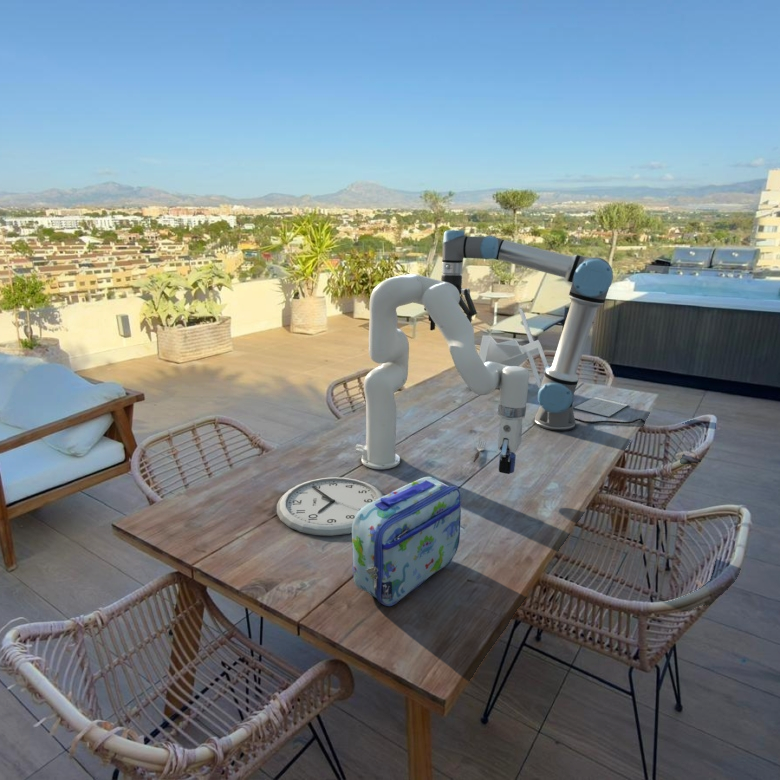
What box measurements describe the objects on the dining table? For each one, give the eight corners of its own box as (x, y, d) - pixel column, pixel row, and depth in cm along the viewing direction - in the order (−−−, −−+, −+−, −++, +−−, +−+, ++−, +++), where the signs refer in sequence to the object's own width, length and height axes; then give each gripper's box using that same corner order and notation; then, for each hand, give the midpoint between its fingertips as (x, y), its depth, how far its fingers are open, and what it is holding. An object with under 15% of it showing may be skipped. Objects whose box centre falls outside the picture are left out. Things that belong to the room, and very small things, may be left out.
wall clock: (392, 527, 129) (268, 531, 127) (391, 533, 130) (269, 537, 127) (383, 473, 158) (282, 475, 155) (383, 478, 158) (282, 480, 156)
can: (497, 472, 151) (499, 456, 150) (499, 465, 155) (500, 450, 154) (513, 474, 150) (515, 458, 149) (514, 467, 154) (516, 452, 153)
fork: (469, 463, 170) (469, 457, 169) (478, 444, 184) (479, 439, 183) (477, 464, 169) (477, 458, 168) (486, 446, 183) (486, 440, 182)
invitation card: (608, 416, 214) (573, 407, 224) (608, 416, 214) (573, 408, 224) (628, 404, 229) (594, 396, 238) (628, 405, 229) (594, 397, 238)
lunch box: (381, 619, 101) (382, 525, 95) (345, 592, 109) (344, 503, 102) (464, 563, 119) (469, 480, 113) (428, 543, 126) (432, 464, 120)
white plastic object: (488, 421, 262) (468, 398, 237) (469, 348, 284) (449, 320, 260) (560, 397, 250) (547, 371, 225) (534, 322, 272) (520, 291, 247)
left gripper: (519, 422, 138) (513, 484, 144) (530, 403, 153) (524, 460, 159) (491, 417, 141) (486, 478, 147) (505, 399, 156) (500, 455, 161)
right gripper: (416, 273, 193) (414, 329, 200) (480, 277, 182) (476, 337, 188) (425, 271, 200) (423, 326, 206) (488, 275, 188) (483, 333, 194)
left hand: (506, 468), depth 153 cm, fingers closed on can, 4 cm apart
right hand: (448, 331), depth 197 cm, fingers open, 13 cm apart
